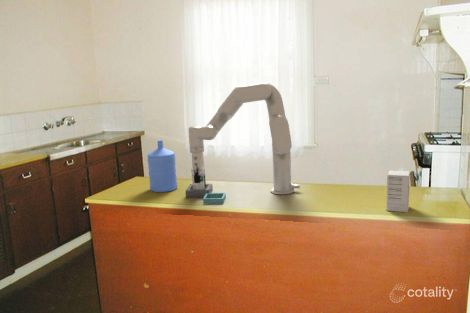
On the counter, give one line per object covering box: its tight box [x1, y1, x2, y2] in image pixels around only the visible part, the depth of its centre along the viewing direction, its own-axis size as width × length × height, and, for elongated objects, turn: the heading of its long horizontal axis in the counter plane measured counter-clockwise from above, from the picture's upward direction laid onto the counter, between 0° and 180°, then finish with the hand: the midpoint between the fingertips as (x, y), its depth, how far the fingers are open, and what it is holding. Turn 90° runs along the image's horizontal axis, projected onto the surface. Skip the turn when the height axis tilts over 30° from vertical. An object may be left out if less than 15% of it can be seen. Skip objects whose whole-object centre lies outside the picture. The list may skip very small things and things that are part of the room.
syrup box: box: [190, 167, 207, 189], centre depth 234 cm, size 6×6×14 cm
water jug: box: [147, 140, 178, 193], centre depth 247 cm, size 16×16×28 cm
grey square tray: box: [185, 183, 214, 199], centre depth 235 cm, size 13×13×4 cm
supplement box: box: [386, 170, 411, 213], centre depth 196 cm, size 10×9×17 cm
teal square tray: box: [202, 192, 227, 205], centre depth 223 cm, size 10×10×2 cm
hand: (198, 180), depth 234 cm, fingers open, 8 cm apart
